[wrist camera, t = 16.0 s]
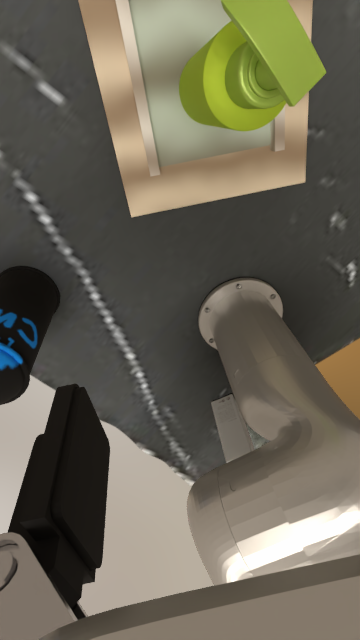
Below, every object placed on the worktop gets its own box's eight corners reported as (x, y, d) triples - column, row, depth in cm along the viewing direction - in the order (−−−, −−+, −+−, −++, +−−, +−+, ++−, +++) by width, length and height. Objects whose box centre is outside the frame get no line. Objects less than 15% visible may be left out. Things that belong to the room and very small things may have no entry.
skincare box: (209, 401, 59) (225, 462, 49) (232, 392, 58) (252, 451, 48) (221, 421, 62) (238, 482, 52) (242, 413, 62) (263, 472, 51)
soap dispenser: (203, 20, 29) (300, -107, 12) (252, 88, 32) (383, 63, 15) (157, 79, 31) (185, 39, 14) (207, 138, 34) (280, 165, 17)
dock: (294, 177, 40) (311, 184, 36) (131, 210, 40) (131, 221, 36) (300, -64, 29) (325, -90, 25) (75, -21, 29) (67, -40, 25)
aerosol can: (49, 328, 47) (2, 450, 30) (-13, 308, 44) (-102, 428, 27) (68, 281, 44) (28, 388, 27) (2, 255, 41) (-89, 356, 24)
